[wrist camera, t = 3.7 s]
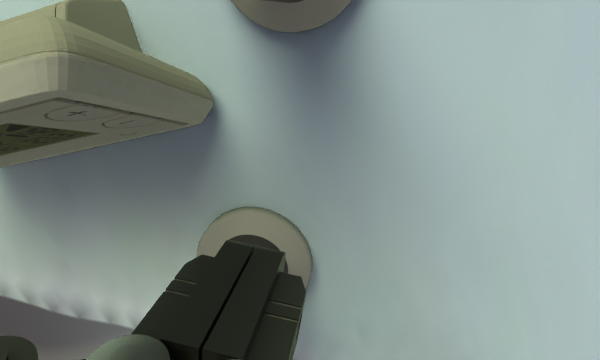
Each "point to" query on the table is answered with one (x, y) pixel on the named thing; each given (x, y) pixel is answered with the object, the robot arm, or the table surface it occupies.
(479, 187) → the table surface
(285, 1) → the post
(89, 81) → the digital clock
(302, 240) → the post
